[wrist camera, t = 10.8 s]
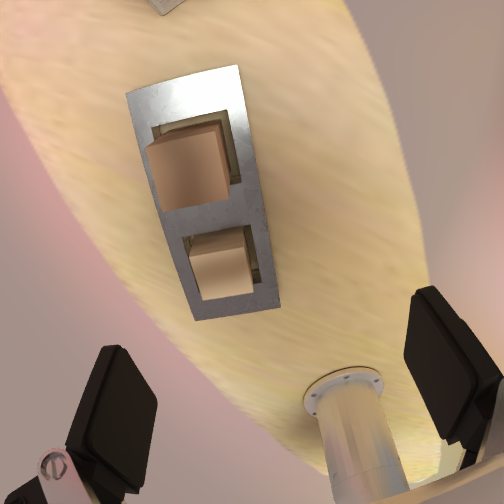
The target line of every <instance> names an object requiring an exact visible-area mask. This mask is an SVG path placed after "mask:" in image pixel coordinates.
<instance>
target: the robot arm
mask: <svg viewBox="0 0 504 504" xmlns="http://www.w3.org/2000/svg"><path fill="white" fill-rule="evenodd" d="M404 360H405V363H406V365H407V367H408V369H409V371H410V373H411V375H412V377H413V379H414V381H415V383H416V385H417V387H418V389H419V392H420V394H421V396H422V398H423V400H424V402H425V404H426V407H427V409H428V411H429V413H430V415H431V418H432V420H433V422H434V424H435V427H436V429H437V431H438V433H439V436H440V438H441V439H443V440H444V439H446V441H447V443H448V445H451V444H454V443H456V442H458V441H460V443H461V445H462V447H463V448H464V449H463V452H462V455H461V458H460V461H459V464H458V466H457V469H456V472H455V473H454V474H451V475H449V476H447V477H444V478H442V479H439V480H437V481H434V482H431V483H429V484H427V485H424V486H421V487H418V488H415V489H413V490H410V488H409V485H408V482H407V479H406V476H405V473H404V470H403V467H402V464H401V461H400V458H399V455H398V452H397V449H396V446H395V443H394V440H393V437H392V434H391V431H390V428H389V426H388V423H387V420H386V417H385V414H384V412H383V409H382V406H381V403H380V401H379V396H380V395H381V393H382V391H383V388H384V383H383V380H382V377H381V375H380V374H379V373H378V372H377V371H375V370H373V369H369V368H361V367H357V368H348V369H343V370H340V371H337V372H334V373H332V374H329V375H327V376H325V377H323V378H322V379H320V380H319V381H317V382H316V383H314V384H313V385H312V386H311V387H310V388H309V389H308V391H307V392H306V394H305V396H304V407H305V410H306V412H307V413H308V414H309V415H311V416H313V417H315V418H317V419H318V423H319V428H320V433H321V438H322V443H323V447H324V452H325V457H326V462H327V467H328V472H329V477H330V482H331V488H332V493H333V498H334V501H335V503H336V504H504V376H503V375H502V373H501V371H500V370H499V368H498V367H497V366H496V364H495V363H494V361H493V360H492V358H491V357H490V356H489V354H488V352H487V351H486V350H485V348H484V347H483V346H482V344H481V343H480V341H479V340H478V339H477V337H476V336H475V334H474V333H473V332H472V330H471V329H470V328H469V326H468V325H467V324H466V322H465V321H464V320H462V319H460V318H459V316H458V315H457V314H456V313H455V311H454V310H453V309H452V307H451V306H450V305H449V304H448V302H447V301H446V300H445V298H444V297H443V296H442V295H441V294H440V292H439V291H438V290H437V289H436V288H435V287H434V286H428V287H424V288H421V289H418V290H416V292H415V295H413V296H412V297H411V304H410V312H409V320H408V328H407V335H406V341H405V348H404ZM156 411H157V398H156V396H155V394H154V393H153V391H152V390H151V388H150V387H149V385H148V384H147V382H146V381H145V379H144V378H143V376H142V374H141V373H140V371H139V370H138V368H137V366H136V365H135V363H134V361H133V360H132V358H131V357H130V355H129V353H128V351H127V350H126V349H125V348H124V349H123V348H122V347H121V346H120V345H109V346H103V347H102V348H101V350H100V353H99V355H98V358H97V360H96V362H95V365H94V368H93V370H92V372H91V375H90V377H89V380H88V382H87V385H86V387H85V390H84V393H83V395H82V398H81V401H80V403H79V406H78V409H77V412H76V414H75V417H74V420H73V422H72V425H71V428H70V432H69V434H68V437H67V440H66V443H65V445H66V446H67V447H66V450H64V449H60V448H53V449H50V450H48V451H47V452H45V453H44V454H43V455H42V456H41V458H40V459H39V462H38V466H37V473H38V476H36V477H35V478H33V479H32V480H30V481H29V482H27V483H25V484H24V485H22V486H21V487H19V488H18V489H17V490H15V491H13V492H12V493H10V494H9V495H8V496H7V498H6V499H5V502H4V504H127V503H126V502H125V500H124V496H125V493H130V494H139V490H140V487H143V485H144V481H145V475H146V468H147V462H148V456H149V450H150V444H151V439H152V433H153V427H154V422H155V416H156Z"/></svg>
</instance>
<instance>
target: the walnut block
mask: <svg viewBox="0 0 504 504" xmlns="http://www.w3.org/2000/svg"><path fill="white" fill-rule="evenodd" d="M145 150H146V154H147V158H148V162H149V165H150V169H151V173H152V176H153V180H154V184H155V187H156V191H157V194H158V198H159V201H160V205H161V208H162V212H167V211H171V210H176V209H181V208H186V207H191V206H196V205H201V204H206V203H211V202H216V201H222V200H227V199H229V192H230V173H231V168H230V163H229V158H228V153H227V148H226V143H225V138H224V133H223V128H222V123H221V119H218V120H213V121H208V122H204V123H199V124H195V125H190V126H186V127H182V128H177V129H173V130H169V131H168V132H166V133H165V134H163V135H162V136H160V137H159V138H158V139H156V140H155V141H153V142H152V143H151V144H149V145H148V146H146V147H145Z"/></svg>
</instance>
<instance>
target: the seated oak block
mask: <svg viewBox="0 0 504 504" xmlns="http://www.w3.org/2000/svg"><path fill="white" fill-rule="evenodd" d="M189 259H190V262H191V265H192V268H193V271H194V274H195V278H196V281H197V284H198V287H199V290H200V293H201V296H202V299H203V300H210V299H216V298H222V297H228V296H234V295H240V294H246V293H252V292H253V280H252V268H251V261H250V256H249V251H248V246H247V242H246V237H245V232H244V227H243V226H239V227H233V228H228V229H223V230H217V231H212V232H207V233H202V234H197V235H194V239H193V243H192V247H191V251H190V255H189Z"/></svg>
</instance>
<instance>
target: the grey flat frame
mask: <svg viewBox="0 0 504 504" xmlns="http://www.w3.org/2000/svg"><path fill="white" fill-rule="evenodd" d="M126 97H127V102H128V106H129V110H130V114H131V118H132V122H133V126H134V130H135V134H136V138H137V142H138V145H139V149H140V153H141V156H142V160H143V164H144V167H145V171H146V174H147V178H148V181H149V185H150V188H151V192H152V195H153V198H154V202H155V205H156V208H157V211H158V215H159V218H160V221H161V224H162V227H163V231H164V234H165V237H166V240H167V243H168V246H169V249H170V252H171V255H172V258H173V261H174V264H175V267H176V270H177V272H178V275H179V278H180V281H181V284H182V287H183V289H184V292H185V295H186V298H187V301H188V303H189V306H190V309H191V311H192V314H193V317H194V319H195V321H199V320H206V319H213V318H219V317H226V316H232V315H239V314H245V313H251V312H257V311H263V310H268V309H274V308H280V307H281V304H280V298H279V292H278V286H277V280H276V274H275V268H274V262H273V256H272V251H271V245H270V239H269V233H268V227H267V222H266V216H265V210H264V205H263V199H262V193H261V188H260V182H259V177H258V171H257V166H256V161H255V155H254V150H253V144H252V139H251V134H250V128H249V123H248V118H247V113H246V107H245V102H244V97H243V92H242V87H241V82H240V77H239V72H238V67H237V65H234V66H228V67H223V68H218V69H213V70H209V71H204V72H200V73H195V74H191V75H187V76H183V77H179V78H175V79H172V80H168V81H164V82H161V83H157V84H154V85H150V86H147V87H144V88H140V89H137V90H134V91H131V92H128V93H126ZM226 109H227V110H228V115H229V120H230V125H231V130H232V135H233V140H234V145H235V150H236V155H237V160H238V165H239V170H240V175H238V176H233V177H230V192H229V199H227V200H222V201H216V202H211V203H206V204H201V205H196V206H191V207H186V208H181V209H176V210H171V211H167V212H162V208H161V205H160V201H159V198H158V194H157V191H156V187H155V184H154V180H153V176H152V173H151V169H150V165H149V162H148V158H147V154H146V150H145V147H146V146H148V145H149V144H151V143H152V142H153V141H155V140H156V139H158V138H159V137H160V136H161V134H160V130H159V126H158V125H162V124H166V123H170V122H174V121H177V120H181V119H186V118H190V117H194V116H198V115H203V114H207V113H212V112H217V111H221V110H226ZM244 225H251V230H252V235H253V240H254V245H255V250H256V255H257V260H258V265H259V269H257V270H252V280H253V292H252V293H246V294H240V295H234V296H228V297H222V298H216V299H210V300H203V299H202V296H201V293H200V290H199V287H198V284H197V281H196V278H195V274H194V271H193V268H192V265H191V262H190V259H189V255H190V251H191V244H190V240H189V237H188V236H191V235H197V234H202V233H207V232H212V231H217V230H223V229H228V228H233V227H239V226H244Z"/></svg>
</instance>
